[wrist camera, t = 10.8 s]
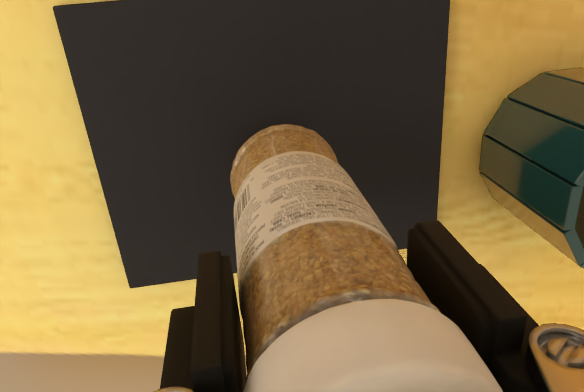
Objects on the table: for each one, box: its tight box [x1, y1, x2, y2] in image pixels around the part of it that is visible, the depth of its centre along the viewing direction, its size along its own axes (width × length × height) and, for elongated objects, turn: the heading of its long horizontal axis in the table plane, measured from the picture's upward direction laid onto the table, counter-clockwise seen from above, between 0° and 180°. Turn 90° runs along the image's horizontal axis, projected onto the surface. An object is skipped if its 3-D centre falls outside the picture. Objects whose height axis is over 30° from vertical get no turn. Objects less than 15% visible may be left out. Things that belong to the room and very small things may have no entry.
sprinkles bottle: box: [230, 124, 503, 392], centre depth 13 cm, size 5×5×13 cm
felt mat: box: [53, 0, 450, 288], centre depth 23 cm, size 17×14×1 cm
